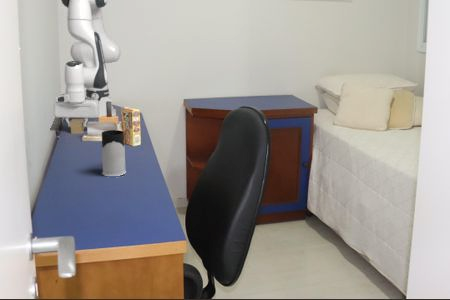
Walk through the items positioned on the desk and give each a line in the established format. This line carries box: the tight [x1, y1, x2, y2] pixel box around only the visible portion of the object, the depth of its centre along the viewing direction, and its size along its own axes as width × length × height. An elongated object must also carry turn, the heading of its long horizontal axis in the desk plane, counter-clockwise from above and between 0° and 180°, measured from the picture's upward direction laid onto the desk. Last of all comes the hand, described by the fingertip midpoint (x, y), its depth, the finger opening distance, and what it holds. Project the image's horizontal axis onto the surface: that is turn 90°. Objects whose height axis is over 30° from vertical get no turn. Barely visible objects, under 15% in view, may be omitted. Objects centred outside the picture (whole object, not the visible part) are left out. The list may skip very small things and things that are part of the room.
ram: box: [98, 100, 120, 129], centre depth 250 cm, size 6×8×12 cm
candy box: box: [120, 106, 142, 147], centre depth 228 cm, size 9×4×15 cm, turn 44°
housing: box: [69, 118, 85, 135], centre depth 248 cm, size 4×5×6 cm
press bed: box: [81, 121, 122, 142], centre depth 245 cm, size 24×16×8 cm, turn 1°
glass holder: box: [101, 130, 127, 176], centre depth 190 cm, size 9×14×15 cm, turn 15°
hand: (77, 126), depth 249 cm, fingers open, 5 cm apart
